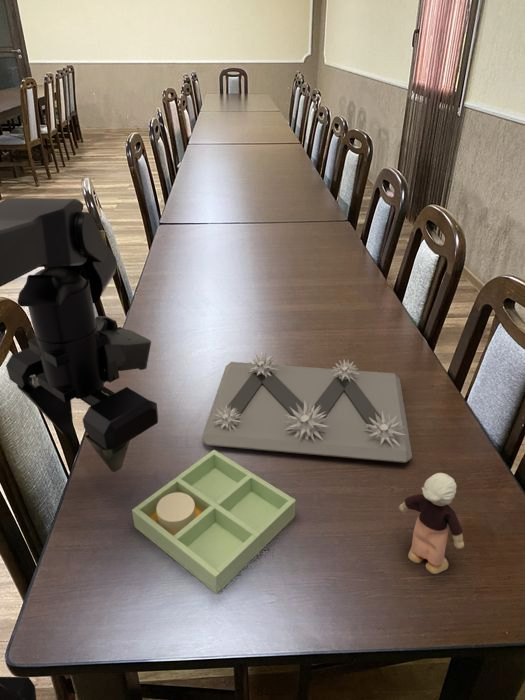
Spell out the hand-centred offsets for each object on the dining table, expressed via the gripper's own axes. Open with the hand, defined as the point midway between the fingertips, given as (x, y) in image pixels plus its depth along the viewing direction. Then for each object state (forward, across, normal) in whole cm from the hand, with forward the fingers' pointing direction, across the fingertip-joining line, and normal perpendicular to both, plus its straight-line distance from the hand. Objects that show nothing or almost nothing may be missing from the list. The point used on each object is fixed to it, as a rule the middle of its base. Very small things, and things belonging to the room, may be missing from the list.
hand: (91, 450), depth 60 cm
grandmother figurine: (+12, -32, -21) cm, 40 cm away
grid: (+12, -10, -9) cm, 18 cm away
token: (+11, -7, -6) cm, 14 cm away
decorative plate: (+12, -6, -34) cm, 37 cm away
